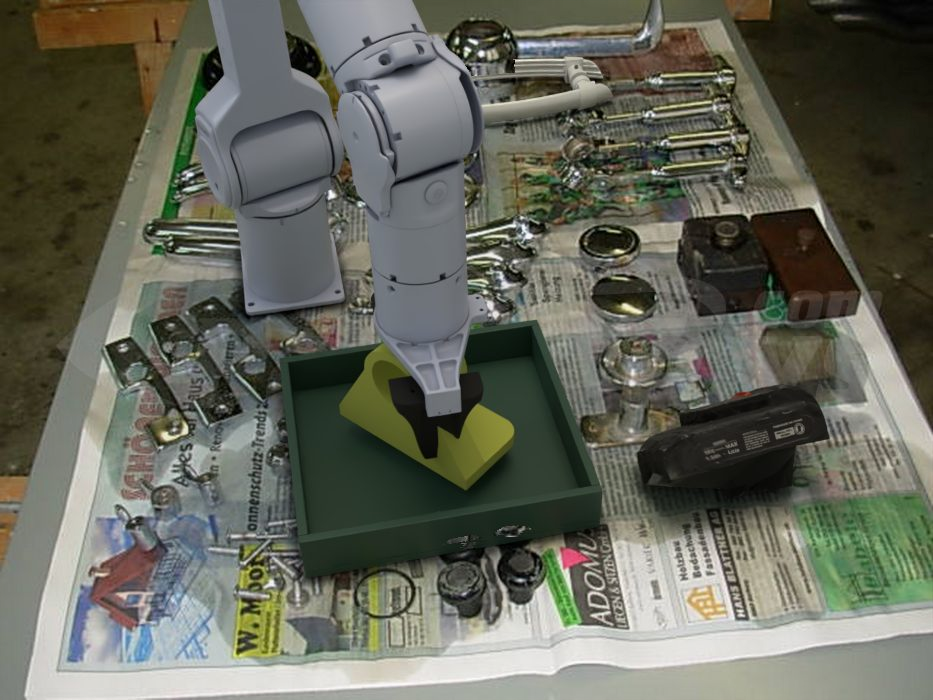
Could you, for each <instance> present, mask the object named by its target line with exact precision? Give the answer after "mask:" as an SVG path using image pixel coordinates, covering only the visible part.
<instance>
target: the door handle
mask: <svg viewBox="0 0 933 700" xmlns="http://www.w3.org/2000/svg"><path fill="white" fill-rule="evenodd" d="M514 60H515V64H514V67H515V73H502V74H490V75H486V76H483V75H479V76H472V79H473V82H479V81H480V82H481V81H488V80H499V79H500V80H501V79H515V78H516V79H517V78H547V77H548V78H563V80H564V82H565V84H566V85H567V84H569V85H570V87H571V89H572V90H568V91H564V92H559V93H554V94H550V95H545V96H540V97H532V98H526V99H521V100H513V101H506V102H505V101H504V102H497V103H495V102H494V103H486V104H485V103H484V104H481V105H482V109H483V115H484V124H491V123H500V122H501V123H503V122H508V121H517V120H523V119H529V118H530V119H531V118H536V117H542V116H547V115H553V114H556V113H562V112H567V111H571V110H575V109H577V112H578V111H579V112H580V111H583V110H585V109H589V108H593V107H595V106H596V104H597V103H600V102H603V101H607V100H610V99H612V98H614V95H613V93H612V91H611V89H610V87H608V85H606V84H603V83H596V81H595V80H590V79H598V80H599V79H600V80H601V79H602V80H603V79H604V76H603V74H602V71H601V69H600V68H599V66H598V65H597V63H595V62H594V61H593V60H590V59H585V58H584V57H582V56H563V58H518V59H514Z"/></svg>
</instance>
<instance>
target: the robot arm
mask: <svg viewBox="0 0 933 700" xmlns="http://www.w3.org/2000/svg"><path fill="white" fill-rule="evenodd" d="M207 1H208V6H209V11H210V16H211V19H212V25H213V30H214V34H215V38H216V42H217V48H218V51H219V57H220V61H221V66H222V71H223V76H222V77H221V78H220V80H218V82H217V83H216V84H215V85H214V86H213V87H212V88H211V89H210V90H209V92H207V94H206V95H205V96H204V97H203V98H202V99H201V100H200V101H199V102H198V104H196V107H195V108H194V112H195V117H194V121H195V126H196V132H197V142H196V143H197V145H196V146H197V154H198V159H199V162H200V166H201V169H202V172H203V174H204V177H205V180H206V182H207V185H208V186H209V189H210V191H211V193H212V194H213V196H214V197H215V200H216V201H217V202H218V203H219V204H221V205H222V206H223V207H226V208H227V209H229V210H233V213H234V214H233V215H234V218H235V223H236V228H237V233H238V238H239V243H240V256H241V268H242V283H243V294H244V308H245V313H246V315H248V316H258V315H265V314H271V313H279V312H285V311H286V312H287V311H292V310H300V309H307V308H314V307H320V306H327V305H335V304H341V303H343V302H344V301H345V299H346V295H345V291H344V284H343V279H342V273H341V268H340V263H339V257H338V253H337V252H338V251H337V248H336V242H335V236H334V233H332V232H331V230H330V223H329V222H330V221H329V213H328V206H327V201H326V199H327V198H326V193H327V192H329V191H331V190H332V189H333V187H332V179H331V177H334V176H336V175H338V174H339V173H340V172H341V169H342V165H343V163H344V159H345V153H346V155H347V156H348V159H349V164H350V168H351V175H352V183H353V185H354V187H355V192H356V195H358V197H359V198H360V199H361V200H362V201H363V202H364V206H365V214H366V215H365V216H366V225H367V236H368V245H369V256H370V266H371V274H372V275H371V276H372V285H373V286H372V287H373V293H372V294H371V296H370V304H371V309H372V313H373V314H372V315H373V326H374V330H375V332H376V335H377V336H378V337H379V339H380V340H381V341H382V343H384V344H385V345H386V346H387V347H388V348H389V349H390V351H391V352H392V353H393V354H394V355H395V357H396V358H397V359H398V360H399V361H400V362H401V364H402V365H403V366H404V367H405V368H406V370H407V371H408V372H409V373H410V374H411V375H412V376H406V377H400V378H393V379H388V384H389V389H390V394H391V398H392V402H393V405H394V407H395V408H396V410H397V412H398V413H399V414H400V415H402V416H403V417H404V418H405V419H406V420H407V421H408V422H409V424H410V425H411V427H412V429H413V432H414V435H415V438H416V441H417V444H418V447H419V449H420V452H421V454H422V456H423V457H424V459H432V458H438V457H437V453H438V445H439V443H438V427H440V428H442V429H443V430H445V431H447V432H449V433H450V434H452V435H453V436H454V437H455V438H456V439H459V438H460V435H461V432H462V428H463V425H464V423H465V420H466V418H467V416H468V415H469V413H470V412H471V410H472V409H473V408H474V407H475V406H476V405H477V404H478V403H479V402H480V401H481V400H482V396H483V391H484V387H483V383H482V379H481V376H480V373H479V371H476V372H470V373H463V374H460V371H461V367H462V363H463V359H464V354H465V350H466V346H467V341H468V337H469V333H470V329H472V326H473V325H475V324H478V323H483V322H486V321H487V320H488V319H489V318H488V316H489V314H488V306H487V303H486V300H485V298H484V296H483V295H481V294H477V293H474V294H469V284H468V283H469V282H468V281H469V280H468V279H469V278H468V255H467V253H468V251H467V250H468V249H467V221H466V217H467V216H466V187H465V161H464V159H465V158H466V157H468V155H470V154H471V155H472V154H475V153H476V152H478V151H479V149H481V147H482V145H483V142H484V138H485V123H484V115H483V109H482V105H483V104H482V102H481V98H480V95H479V92H478V89H477V87H476V84H475V81H473V79H472V76H471V74H470V72H469V70H468V69H467V67H466V66H465V64H466V63H464V62H463V60H462V59H461V57H459V56H458V55H457V54H455V53H454V52H453V51H451V50H450V49H449V48H448V47H447V46H446V44H445V42H444V39H443V38H442V37H440V35H439V34H432V35H431V34H429V33H428V31H427V28H426V27H425V24H424V23H423V20H422V18H421V15H420V13H419V12H418V9H417V7H416V5H415V4H414V1H413V0H296V2H297V5H298V7H299V9H300V11H301V15H302V16H303V18H304V20H305V23H306V24H307V27H308V29H309V31H310V33H311V35H312V38H313V40H314V42H315V44H316V46H317V48H318V51H319V53H320V55H321V57H322V59H323V63H324V64H325V66H326V69H327V70H328V72H329V74H330V77H331V79H332V81H333V83H334V86H335V88H336V90H337V92H338V94H339V96H340V97H339V100H338V105H337V111H335V114H336V119H335V116H334V114H333V113H334V112H333V109H332V105H331V101H330V96H329V93H327V91H326V90H325V89H324V87H323V86H322V85H321V84H320V83H319V81H317V80H316V79H315V78H314V77H312V76H311V75H309V74H307V73H305V72H303V71H301V70H298V69H296V68H293V67H292V65H291V58H290V53H289V47H288V42H287V37H286V31H285V25H284V19H283V14H282V9H281V3H280V2H281V1H280V0H207ZM344 149H345V150H344ZM345 151H346V152H345Z"/></svg>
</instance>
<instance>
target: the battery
mask: <svg viewBox="0 0 933 700" xmlns="http://www.w3.org/2000/svg"><path fill="white" fill-rule="evenodd" d="M678 413H679V423H680V426H677V427H673V428H669V429H666V430H663V431H659V432H657V433H655V434H653V435H651V436H650V437H647V439H646V440H645V441H643V443H642V445H641V446H640V448H639V450H638V451H637V452H636V459H637V464H638V468H639V473H640V476H641V480H642V484H643V485H647V486H649V485H650V486H659V487H669V488H688V489H689V488H692V489H712V490H713V489H715V490H720V492H721V494H722V495H723V497H724V498H725V500H726V501H730V500H731V501H732V499H735V498H740V497H742V496H745V495H751V494H755V493H763V492H766V491H768V492H771V493H776V492H780V490H783V489H788V488H793V481H794V479H793V478H794V468H795V460H796V459H795V458H796V451H797V447H798V446H803V445H808V444H813V443H818V442H823V441H826V440H827V441H828V440H830V433H829V430H828V424H827V421H826V418H825V415H824V413H823V410H822V408H821V406H820V404H819V403H818V401H817V399H816V398H815V396H814V395H813V394H812V393H811V392H809V391H807V390H806V389H804V388H802V387H800V386H797V385H790V384H783V383H780V384H773V385H769V386H762V387H757V388H753V389H752V390H749V391H743V390H741V391H738V392H736V393H735V394H734V395H733V396H732V397H730V398H728V399H724V400H721V401H718V402H713V403H710V404H707V405H703V406H699V407H696V408H689V409H685V410H683V411H681V412H678Z"/></svg>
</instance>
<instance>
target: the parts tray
mask: <svg viewBox="0 0 933 700" xmlns="http://www.w3.org/2000/svg"><path fill="white" fill-rule="evenodd" d="M383 343H384V342H377V343H372V344H371V343H370V344H365V345H357V346H350V347H344V348H338V349H330V350H324V351H317V352H311V353H305V354H297V355H291V356H284V357H279V359H278V360H279V369H280V370H279V371H280V380H281V389H282V398H283V408H284V418H285V425H286V426H285V427H286V434H287V435H286V436H287V445H288V454H289V463H290V464H289V465H290V473H291V481H292V490H293V492H292V493H293V500H294V511H295V519H296V528H297V536H298V546H299V549H300V554H301V559H302V564H303V570H304V576H305V579H311V578H317V577H322V576H328V575H334V574H340V573H345V572H351V571H358V570H362V569H369V568H374V567H380V566H385V565H391V564H396V563H397V564H398V563H401V562H409V561H414V560H420V559H425V558H432V557H436V556H437V557H438V556H442V555H448V554H453V553H459V552H464V551H465V552H466V551H467V550H463V549H464V548H460V547H465V546H463V545H464V544H461V543H467V542H476V543H475V544H476V545H472V546H475V547H473V548H475V549H474V550H476V549H477V550H478V549H482V548H483V549H484V548H487V547H494V546H499V545H505V544H511V543H517V542H522V541H528V540H533V539H539V538H544V537H551V536H556V535H562V534H567V533H573V532H580V531H584V530H585V531H586V530H590V529H596V528H600V527H601V518H602V517H601V515H602V506H603V505H602V503H603V493H604V490H603V488H602V485H601V483H600V479H599V477H598V475H597V472H596V470H595V466H594V464H593V462H592V460H591V457H590V454H589V451H588V449H587V446H586V443H585V441H584V438H583V436H582V433H581V430H580V427H579V425H578V422H577V420H576V417H575V414H574V412H573V410H572V406H571V404H570V401H569V398H568V396H567V394H566V391H565V388H564V386H563V383H562V381H561V378H560V376H559V372H558V369H557V368H556V365H555V362H554V360H553V357H552V354H551V351H550V349H549V347H548V344H547V342H546V339H545V336H544V334H543V331H542V329H541V326H540V323H539V321H538V319H531V320H524V321H518V322H511V323H505V324H497V325H491V326H483V327H478V328H471V329H470V333H469V337H468V341H467V346H466V350H465V354H464V358H465V361H466V366H467V373H470V372H476V371H479V373H480V376H481V379H482V383H483V387H484V391H483V396H482V400H481V401H480V402H479V403H478V404H479V405H481V406H483V407H485V408H487V409H489V410H490V411H492V412H494V413H496V414H498V415H499V416H501V417H503V418H505V419H507V420H508V421H509V422H510V423H511V424H512V425H513V427H514V443H513V446H512V447H511V448H510V449H509V450H508V451H507V452H506V453H505V454H504V455H503V456H502V457H501V458H500V459H499V460H498V461H497V462H496V463H495V464H494V465H492V466H491V467H490V468H489V469H488V470H487V471H486V472H485V473H484V474H483V475H482V476H481V477H480V478H479V479H478V480H477V481H476V482H475V483H474V484H472V485H471V486H470V487H469V488H468V489H467V490H464V489H463V488H461V487H459V486H458V485H456V484H454V483H453V482H451V481H449V480H448V479H446V478H445V477H443V476H441V475H440V474H438V473H436V472H435V471H433V470H431V469H430V468H428V467H426V466H425V465H423V464H421V463H420V462H418V461H416V460H415V459H413V458H412V457H410V456H408V455H407V454H405V453H403V452H402V451H400V450H398V449H397V448H395V447H393V446H392V445H390V444H388V443H387V442H385V441H384V440H382V439H380V438H379V437H377V436H375V435H374V434H372V433H370V432H369V431H367V430H365V429H364V428H362V427H360V426H359V425H357V424H355V423H354V422H352V421H351V420H349V419H347V418H346V417H344V416H342V415H341V414H340V407H339V404H340V403H341V402H342V400H343V399H344V397H345V396H346V395H347V393H348V392H349V390H350V389H351V388H352V386H353V385H354V383H355V382H356V381H357V379H358V378H359V376H360V375H361V374H362V372H363V371H364V363H365V359H366V357H367V356H368V355H369V354H370V353H371V352H372V351H374V350H375V349H376V348H377V347H379V346H380V345H381V344H383ZM435 511H440V512H435ZM513 525H514V526H517V525H519V526H528V527H529V528H531V529H532V530H526V531H522V532H523V533H520V534H521V535H518V537H505V535H498V536H494V533H495V532H497V530H499V529H501V528H502V527H505V526H513ZM468 535H476V536H479V537H481V538H480V539H475V540H473V541H466V542H465V541H463V542H458V543H452V544H446V545H442V544H443V543H445V542H446V541H448V540H450V539H453V538H458V537H464V536H468ZM467 544H468V543H467Z"/></svg>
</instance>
